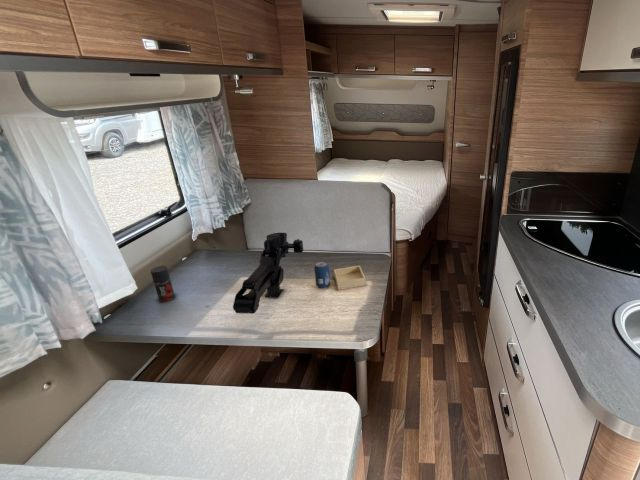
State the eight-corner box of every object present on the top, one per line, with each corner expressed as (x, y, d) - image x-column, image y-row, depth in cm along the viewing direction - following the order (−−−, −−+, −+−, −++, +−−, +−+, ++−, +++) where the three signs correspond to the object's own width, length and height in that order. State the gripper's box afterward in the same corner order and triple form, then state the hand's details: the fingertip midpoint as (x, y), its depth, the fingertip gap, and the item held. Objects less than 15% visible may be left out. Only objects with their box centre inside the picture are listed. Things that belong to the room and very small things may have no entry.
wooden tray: (338, 290, 162) (337, 282, 160) (334, 276, 174) (333, 269, 172) (365, 285, 166) (365, 278, 165) (360, 272, 178) (359, 265, 177)
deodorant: (173, 292, 157) (165, 264, 152) (176, 298, 153) (168, 269, 148) (157, 297, 153) (149, 268, 148) (160, 303, 149) (151, 273, 144)
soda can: (318, 281, 169) (316, 260, 164) (332, 281, 168) (330, 260, 164) (314, 289, 162) (312, 267, 158) (328, 289, 162) (326, 267, 158)
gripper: (295, 237, 158) (306, 225, 173) (256, 237, 158) (270, 224, 173) (298, 258, 162) (308, 245, 177) (259, 258, 162) (272, 244, 177)
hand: (289, 239), depth 176 cm, fingers open, 9 cm apart
